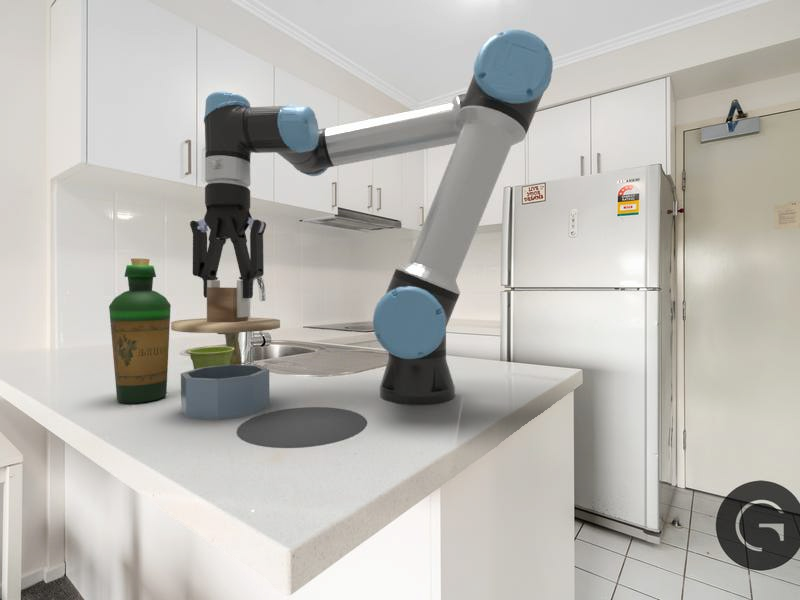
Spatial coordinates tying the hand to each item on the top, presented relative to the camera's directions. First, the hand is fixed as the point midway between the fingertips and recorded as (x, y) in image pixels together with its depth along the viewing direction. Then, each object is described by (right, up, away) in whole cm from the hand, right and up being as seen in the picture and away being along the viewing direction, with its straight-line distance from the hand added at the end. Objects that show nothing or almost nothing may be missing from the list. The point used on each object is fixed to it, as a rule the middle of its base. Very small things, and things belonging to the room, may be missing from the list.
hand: (228, 316), depth 77 cm
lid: (0, -2, 0) cm, 2 cm away
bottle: (-21, -17, +9) cm, 28 cm away
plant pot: (-11, -17, +18) cm, 27 cm away
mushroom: (-12, -16, +33) cm, 39 cm away
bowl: (-1, -17, +1) cm, 17 cm away
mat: (+16, -17, -9) cm, 25 cm away
